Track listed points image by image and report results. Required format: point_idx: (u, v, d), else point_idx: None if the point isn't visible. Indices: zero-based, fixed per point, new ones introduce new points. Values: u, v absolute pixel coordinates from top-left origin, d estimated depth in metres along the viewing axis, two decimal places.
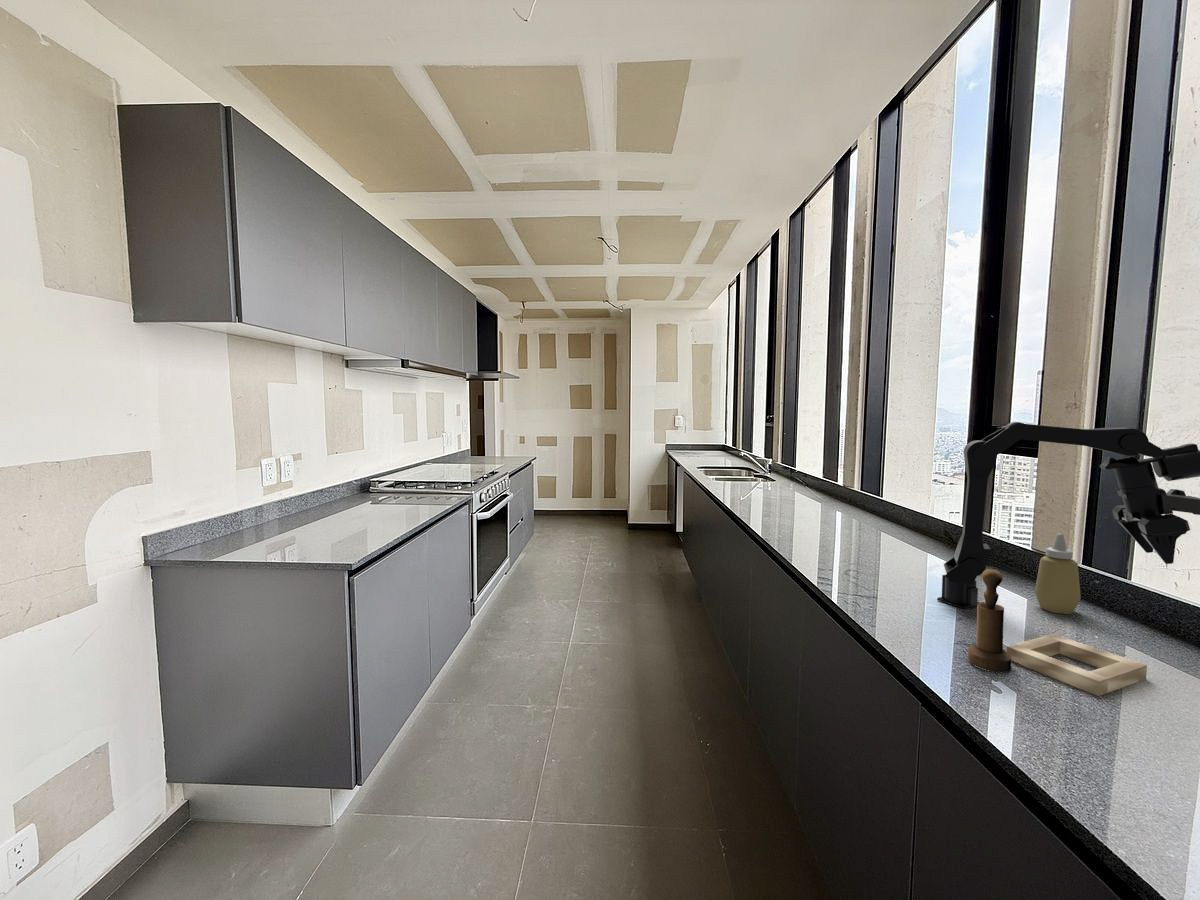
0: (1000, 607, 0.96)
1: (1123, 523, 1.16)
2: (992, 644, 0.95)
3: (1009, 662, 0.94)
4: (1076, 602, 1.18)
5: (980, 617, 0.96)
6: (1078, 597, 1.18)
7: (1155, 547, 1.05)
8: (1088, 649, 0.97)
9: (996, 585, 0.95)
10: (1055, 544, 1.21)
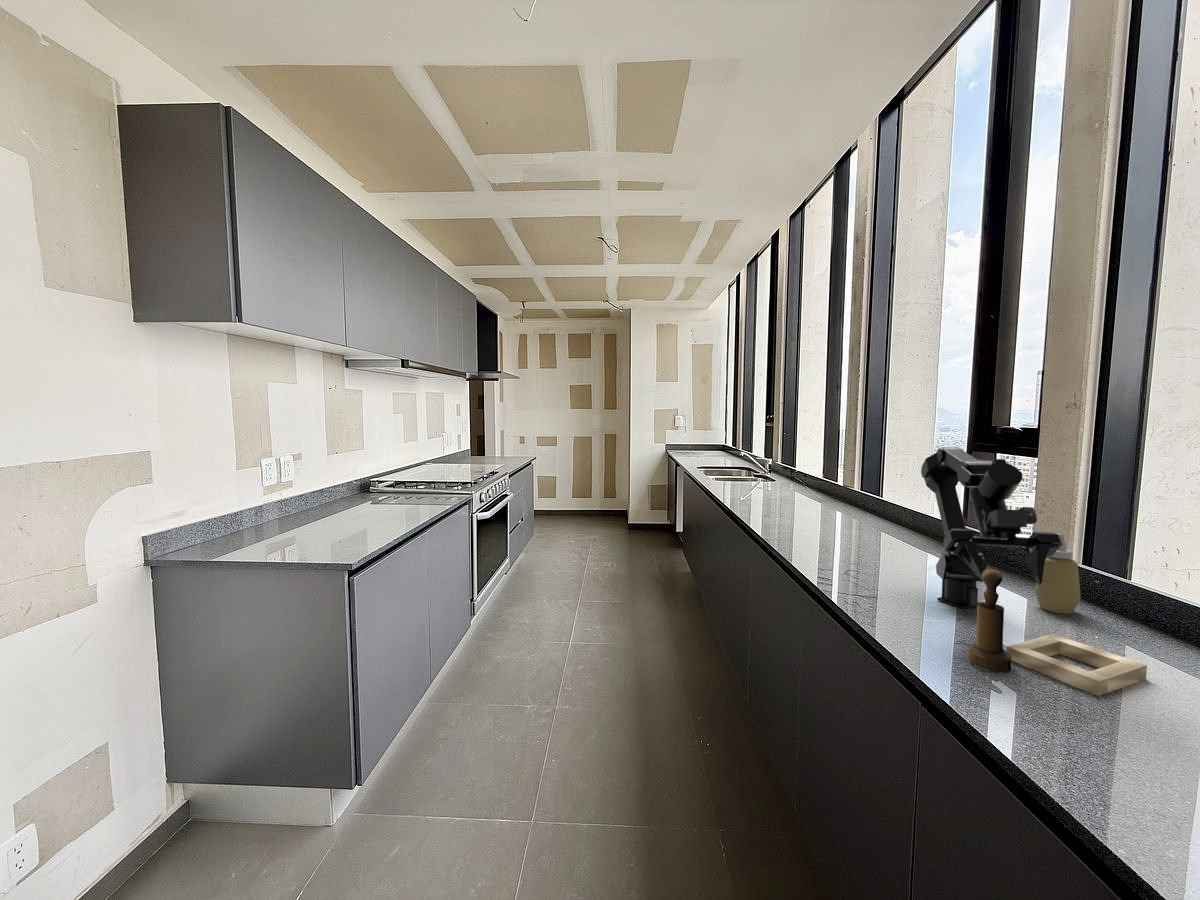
0: (1000, 607, 0.96)
1: None
2: (992, 644, 0.95)
3: (1009, 662, 0.94)
4: (1076, 602, 1.18)
5: (980, 617, 0.96)
6: (1078, 597, 1.18)
7: (968, 565, 1.06)
8: (1088, 649, 0.97)
9: (996, 585, 0.95)
10: None
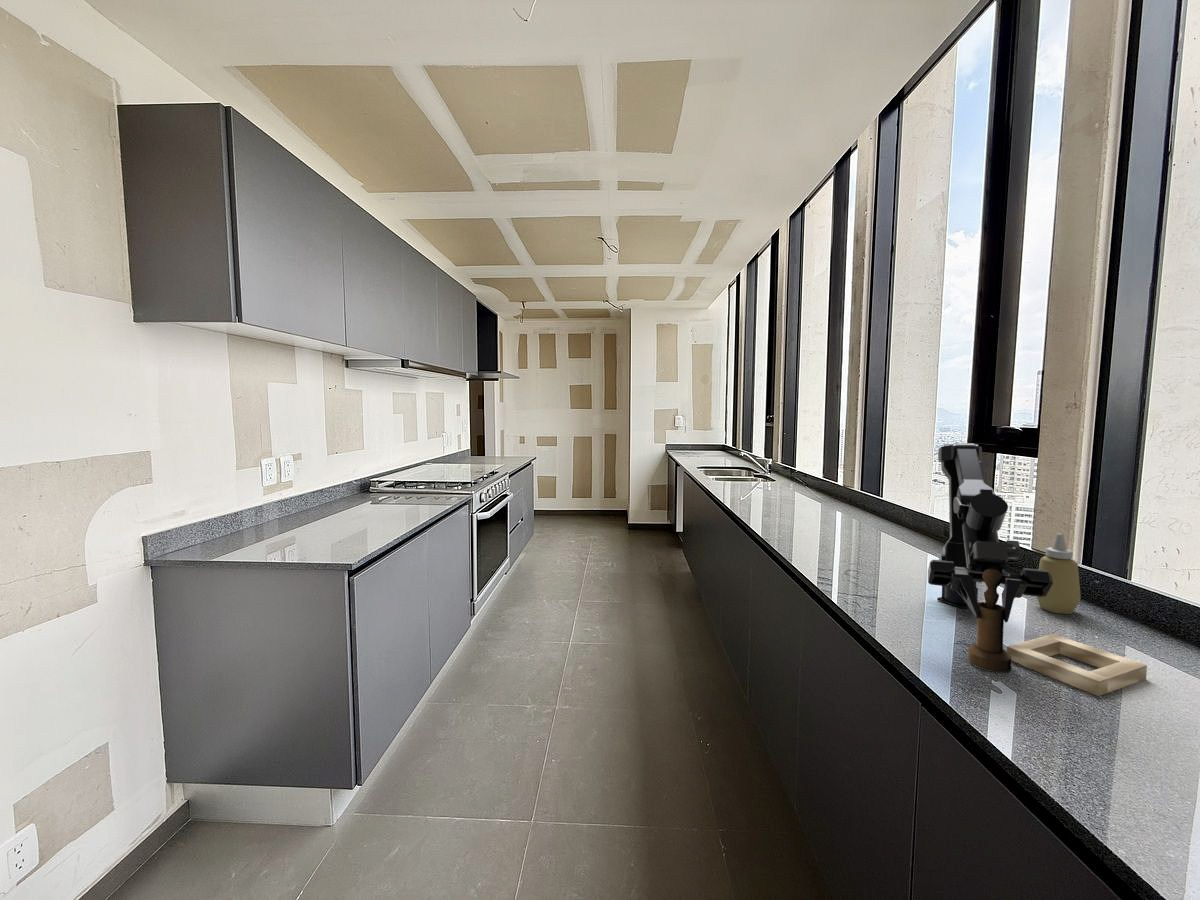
0: (1000, 607, 0.96)
1: None
2: (992, 644, 0.95)
3: (1009, 662, 0.94)
4: (1076, 602, 1.18)
5: (980, 617, 0.96)
6: (1078, 597, 1.18)
7: (965, 601, 1.00)
8: (1088, 649, 0.97)
9: (996, 585, 0.95)
10: (1055, 544, 1.21)
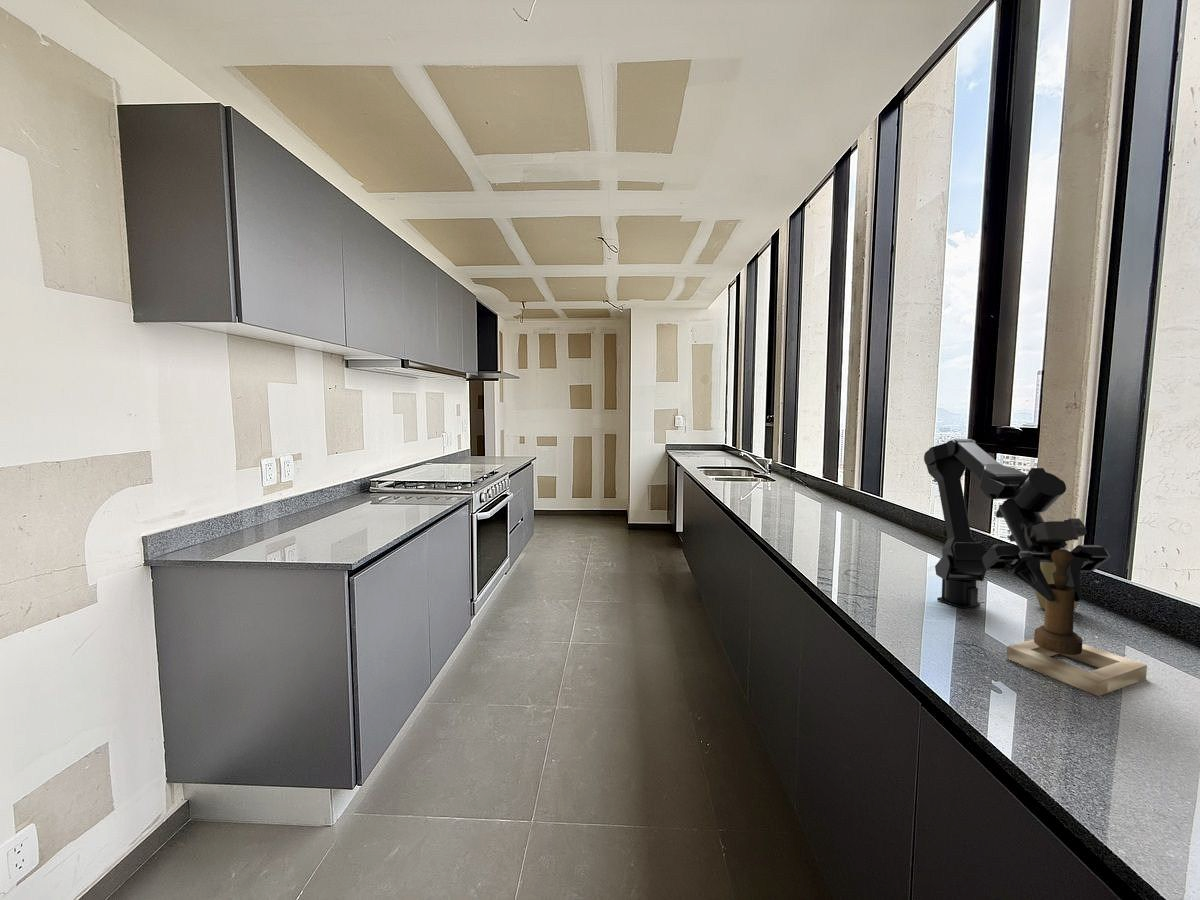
0: (1067, 587, 0.94)
1: None
2: (1067, 626, 0.92)
3: None
4: (1076, 602, 1.18)
5: (1053, 600, 0.93)
6: None
7: (1029, 584, 0.97)
8: (1088, 649, 0.97)
9: (1069, 565, 0.93)
10: None
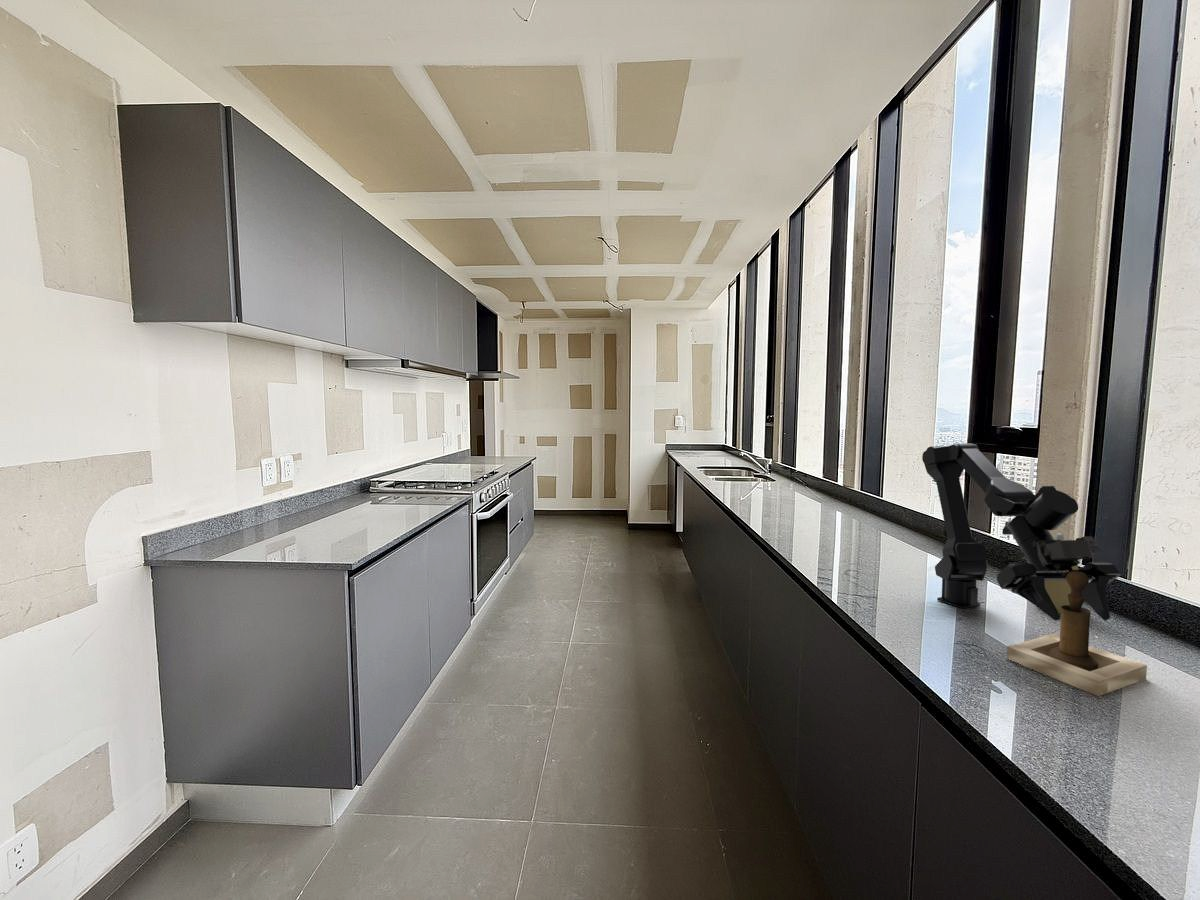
0: (1082, 608, 0.95)
1: None
2: (1084, 648, 0.93)
3: (1097, 664, 0.93)
4: None
5: (1069, 622, 0.94)
6: None
7: (1033, 602, 0.97)
8: (1088, 649, 0.97)
9: (1084, 587, 0.93)
10: None
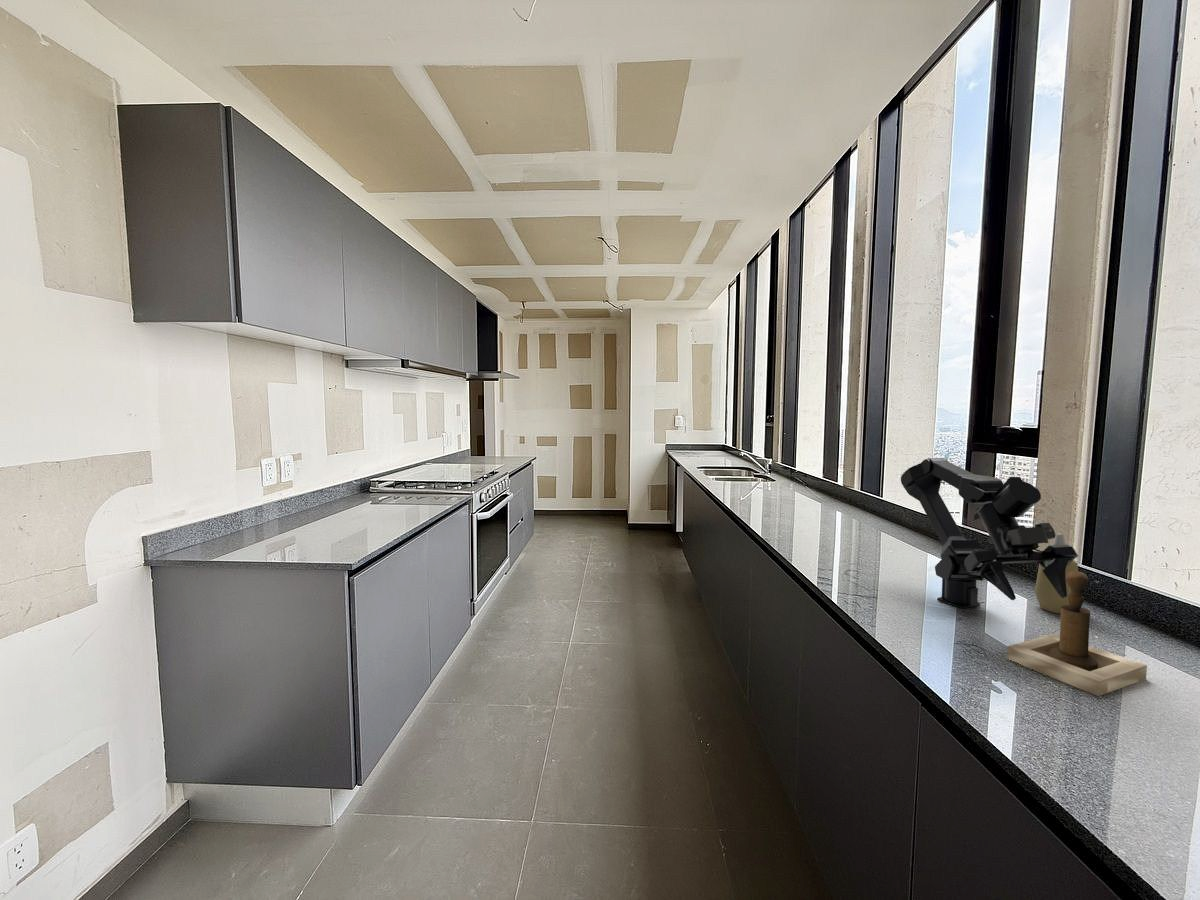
0: (1081, 608, 0.95)
1: (1043, 570, 1.08)
2: (1083, 648, 0.93)
3: (1097, 663, 0.93)
4: None
5: (1069, 622, 0.94)
6: None
7: (993, 584, 1.07)
8: (1088, 649, 0.97)
9: (1084, 587, 0.93)
10: (1055, 544, 1.21)
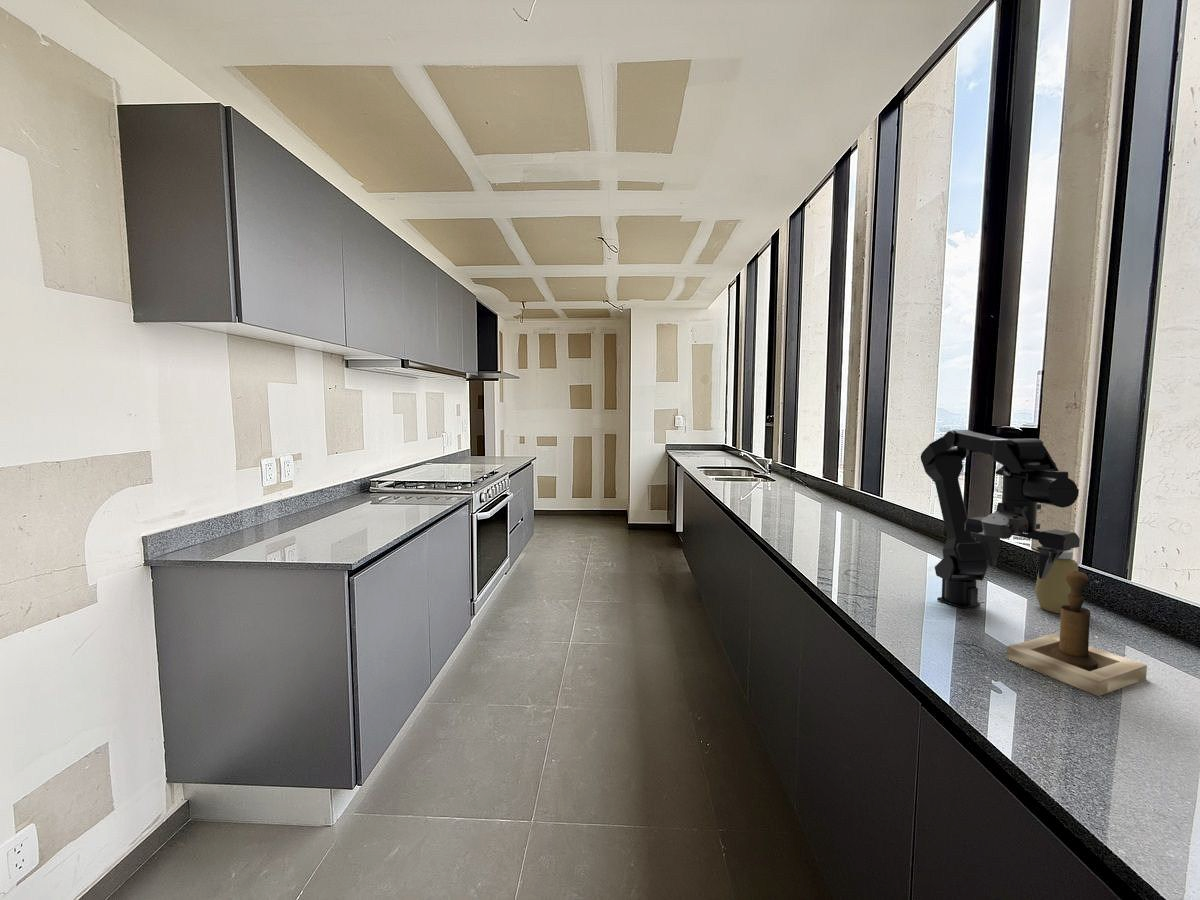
0: (1081, 608, 0.95)
1: None
2: (1084, 648, 0.93)
3: (1097, 664, 0.93)
4: None
5: (1069, 622, 0.94)
6: None
7: None
8: (1088, 649, 0.97)
9: (1084, 587, 0.93)
10: None
